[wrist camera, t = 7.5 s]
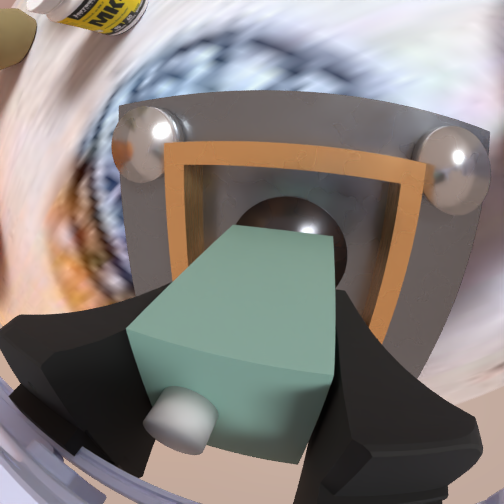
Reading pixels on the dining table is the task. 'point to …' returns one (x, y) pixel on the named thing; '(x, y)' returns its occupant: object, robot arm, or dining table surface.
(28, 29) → the squeeze bottle
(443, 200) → the grey framed base plate
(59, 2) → the supplement bottle
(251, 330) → the spout tin
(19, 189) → the dining table surface
